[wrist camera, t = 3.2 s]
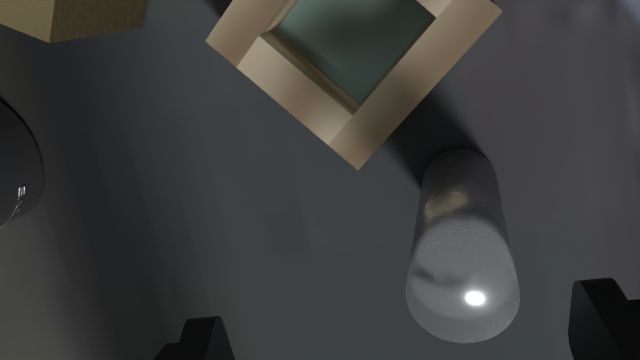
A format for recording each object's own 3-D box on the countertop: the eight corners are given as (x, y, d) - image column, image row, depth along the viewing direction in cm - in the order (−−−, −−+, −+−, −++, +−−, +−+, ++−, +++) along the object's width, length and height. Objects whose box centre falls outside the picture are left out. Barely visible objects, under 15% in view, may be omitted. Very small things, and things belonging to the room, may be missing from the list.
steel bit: (407, 184, 32) (383, 294, 21) (457, 133, 31) (458, 223, 20) (460, 229, 32) (464, 361, 21) (512, 181, 31) (544, 297, 20)
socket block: (230, 34, 31) (205, 41, 28) (343, -129, 27) (328, -143, 24) (367, 150, 32) (357, 170, 29) (497, 7, 28) (502, 11, 25)
